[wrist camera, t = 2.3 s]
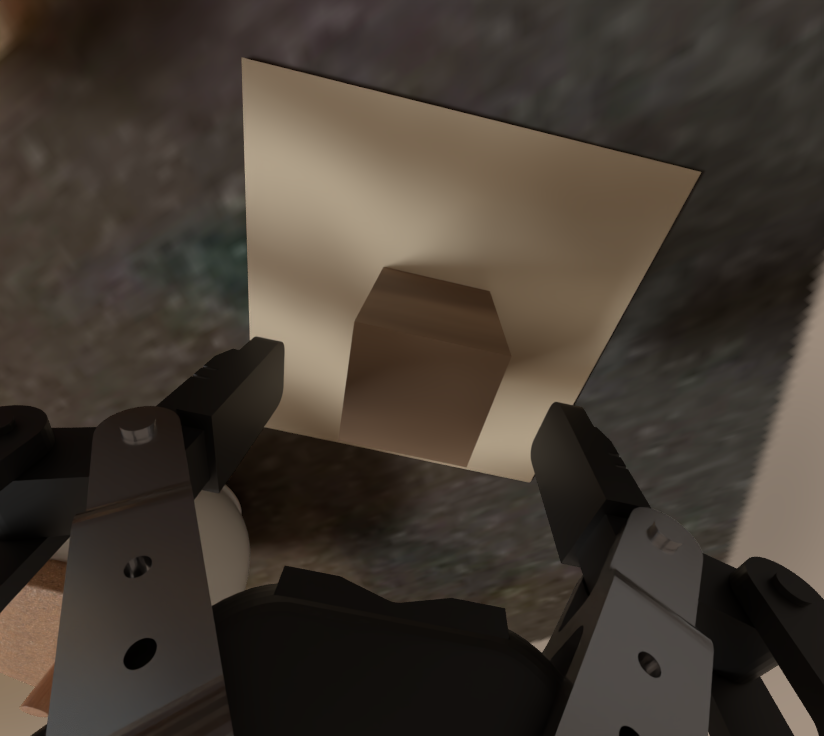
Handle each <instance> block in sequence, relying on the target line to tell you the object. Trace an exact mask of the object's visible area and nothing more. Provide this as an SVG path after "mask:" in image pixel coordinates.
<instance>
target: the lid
mask: <svg viewBox="0 0 824 736" xmlns="http://www.w3.org/2000/svg"><path fill="white" fill-rule="evenodd" d="M242 87H243V121H244V154H245V188H246V221H247V255H248V288H249V322H250V340H251V339H252V338H254V337H255V336H258V337H262V338H267V339H272V340H276V341H281V342H283V343H284V347H285V357H284V388H283V394H282V398H281V401H280V403H279V405H278V407H277V409H276V410H275V412H274V413H273V415H272V416H271V418H270V419H269V421H268V422H267V424H266V425H265V426H264V427H266V428H271V429H276V430H281V431H286V432H290V433H295V434H300V435H305V436H310V437H314V438H319V439H324V440H329V441H334V442H338V443H343V444H348V445H353V446H358V447H362V448H367V449H372V450H377V451H381V452H386V453H391V454H396V455H401V456H405V457H410V458H415V459H420V460H425V461H429V462H434V463H439V464H444V465H449V466H453V467H458V468H463V469H468V470H472V471H477V472H482V473H487V474H492V475H496V476H501V477H506V478H511V479H516V480H520V481H525V482H531V480H532V478H533V476H534V474H535V473H534V469H533V466H532V463H531V446H532V443H533V440H534V438H535V436H536V434H537V432H538V430H539V428H540V426H541V424H542V422H543V420H544V418H545V416H546V414H547V412H548V410H549V408H550V406H551V405H552V404H553V403H554V402H560V403H565V404H570V405H573V404H574V402H575V400H576V398H577V397H578V395H579V393H580V391H581V389H582V387H583V386H584V384H585V382H586V380H587V378H588V377H589V375H590V373H591V371H592V369H593V368H594V366H595V364H596V362H597V360H598V358H599V357H600V355H601V353H602V351H603V349H604V348H605V346H606V344H607V342H608V340H609V339H610V337H611V335H612V333H613V331H614V330H615V328H616V326H617V324H618V322H619V320H620V319H621V317H622V315H623V313H624V311H625V310H626V308H627V306H628V304H629V302H630V301H631V299H632V297H633V295H634V293H635V291H636V290H637V288H638V286H639V284H640V282H641V281H642V279H643V277H644V275H645V273H646V272H647V270H648V268H649V266H650V264H651V263H652V261H653V259H654V257H655V255H656V253H657V252H658V250H659V248H660V246H661V244H662V243H663V241H664V239H665V237H666V235H667V234H668V232H669V230H670V228H671V226H672V224H673V223H674V221H675V219H676V217H677V215H678V214H679V212H680V210H681V208H682V206H683V205H684V203H685V201H686V199H687V197H688V196H689V194H690V192H691V190H692V188H693V186H694V185H695V183H696V181H697V179H698V177H699V176H700V174H701V172H699V171H695V170H691V169H687V168H683V167H679V166H675V165H671V164H667V163H663V162H659V161H655V160H651V159H647V158H643V157H639V156H635V155H631V154H627V153H623V152H619V151H615V150H611V149H607V148H603V147H599V146H595V145H591V144H587V143H583V142H579V141H575V140H571V139H567V138H563V137H559V136H555V135H551V134H547V133H543V132H539V131H535V130H531V129H527V128H523V127H519V126H515V125H511V124H507V123H503V122H498V121H494V120H490V119H486V118H482V117H478V116H474V115H470V114H466V113H462V112H458V111H454V110H450V109H446V108H442V107H438V106H434V105H430V104H426V103H422V102H418V101H414V100H410V99H406V98H402V97H398V96H394V95H390V94H386V93H382V92H378V91H374V90H370V89H366V88H362V87H358V86H354V85H350V84H346V83H342V82H338V81H334V80H330V79H326V78H322V77H318V76H314V75H310V74H306V73H302V72H298V71H294V70H290V69H286V68H282V67H278V66H274V65H270V64H266V63H262V62H258V61H254V60H250V59H246V58H242Z"/></svg>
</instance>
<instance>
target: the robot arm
mask: <svg viewBox="0 0 824 736" xmlns="http://www.w3.org/2000/svg"><path fill="white" fill-rule="evenodd" d="M284 357H285V347H284V343H283V342H281V341H276V340H272V339H267V338H262V337H258V336H255V337H254V338H252V339H251V340H250V341H249V342H248V343H247V344H246V345H245V346H244V347H243V348H241V349H240V350H236V349H231V350H229V351H226V352H224V353H221V354H219V355H216V356H215V357H213V358H212V359H211V360H210V361H209V362H207V363H206V364H205V365H204V367H203V368H200V369H199V370H198V371H197V372H196V373H195V374H194V375H193V377H190V378H189V379H187V380H186V381H185V382H184V383H183V384H182V385H180V386H179V387H178V388H177V389H176V390H174V391H173V392H172V393H171V394H170V395H169V396H167V397H166V398H165V399H164V400H163V401H161V402H160V403H159V404H158V405H157V406H142V407H135V408H130V409H127V410H123V411H121V412H118V413H116V414H114V415H112V416H110V417H108V418H107V419H105V420H104V421H103V422H101V423H100V424H99V425H98V426H97V427H83V428H51V426H50V423H49V420H48V418H47V415H46V414H45V413H44V412H43V411H42V410H40V409H38V408H35V407H31V406H23V405H13V406H2V407H0V613H1V612H2V611H3V609H4V608H5V607H6V606H7V605H8V604H9V603H10V602H11V601H12V600H13V599H14V597H15V596H16V595H17V594H18V593H19V592H20V591H21V590H22V589H23V588H24V587H25V585H26V584H27V583H28V582H29V581H30V580H31V579H32V578H33V577H34V576H35V575H36V573H37V572H38V571H39V570H40V569H41V568H42V567H43V566H44V565H45V564H46V563H47V561H48V560H49V559H50V558H51V557H52V556H53V555H54V554H55V553H56V552H57V551H58V549H59V548H60V547H61V546H62V545H63V544H64V543H65V542H66V541H67V540H68V539H69V537H70V541H69V550H68V558H67V566H66V574H65V582H64V591H63V599H62V607H61V615H60V623H59V632H58V640H57V648H56V656H55V664H54V673H53V681H52V689H51V697H50V705H49V714H48V722H47V725H45V726H44V727H42V728H41V729H39V730H38V731H37V732H35V733H34V734H32V736H708V732H709V735H710V736H794V735H793V733H792V731H791V729H790V728H789V726H788V724H787V723H786V721H785V719H784V717H783V715H782V714H781V712H780V710H779V709H778V707H777V705H776V703H775V702H774V700H773V698H772V696H771V695H770V693H769V691H768V689H767V688H766V686H765V684H764V683H763V681H762V679H761V677H760V676H762V675H763V674H764V673H766V672H768V671H770V670H771V669H773V668H774V667H776V666H778V665H779V667H780V668H781V670H782V671H783V673H784V675H785V676H786V678H787V679H788V681H789V683H790V684H791V686H792V687H793V689H794V691H795V692H796V694H797V695H798V697H799V699H800V700H801V702H802V703H803V705H804V707H805V708H806V710H807V711H808V713H809V715H810V716H811V718H812V720H813V721H814V723H815V725H816V728H817V731H818V734H819V736H824V599H823V598H822V597H821V596H820V595H819V594H818V593H817V592H816V591H815V590H814V589H813V588H812V587H811V586H810V585H809V584H808V583H806V582H805V581H804V580H803V579H801V578H800V577H799V576H797V575H796V574H795V573H793V572H792V571H790V570H789V569H787V568H785V567H784V566H782V565H780V564H778V563H776V562H774V561H771V560H768V559H766V558H762V557H751V558H749V559H748V560H746V561H745V562H744V563H743V564H742V565H741V566H740V567H738V568H737V569H736V568H734V567H732V566H730V565H728V564H725V563H723V562H721V561H719V560H717V559H714V558H712V557H710V556H708V555H706V554H703V553H702V550H701V548H700V546H699V544H698V543H697V541H696V540H695V539H694V537H693V536H692V535H691V534H690V533H689V532H688V531H687V530H686V529H685V528H684V527H683V526H682V525H681V524H679V523H678V522H677V521H676V520H674V519H673V518H671V517H669V516H668V515H666V514H664V513H662V512H660V511H657V510H655V509H651V507H650V505H649V504H648V502H647V500H646V499H645V497H644V495H643V494H642V492H641V490H640V489H639V487H638V485H637V484H636V482H635V480H634V479H633V477H632V475H631V474H630V472H629V470H628V469H626V465H625V464H624V462H623V460H622V459H621V457H619V454H618V452H617V450H616V449H615V447H614V445H613V444H612V442H611V441H610V440H609V439H608V438H607V437H606V436H605V435H604V434H603V433H602V432H601V431H600V430H599V429H598V428H597V427H594V426H593V424H592V423H591V421H590V419H589V417H588V416H587V414H586V412H585V410H584V409H583V408H582V407H579V406H574V405H570V404H565V403H560V402H554V403H553V404H552V405H551V406H550V408H549V410H548V412H547V414H546V416H545V418H544V420H543V422H542V424H541V426H540V428H539V430H538V432H537V434H536V436H535V438H534V440H533V443H532V446H531V463H532V466H533V469H534V473H535V476H536V480H537V483H538V486H539V490H540V493H541V497H542V500H543V503H544V507H545V510H546V514H547V517H548V520H549V524H550V527H551V531H552V534H553V537H554V541H555V544H556V548H557V551H558V554H559V558H560V561H561V563H562V564H567V565H572V566H577V567H581V570H582V573H583V575H582V577H581V578H580V579H579V581H578V582H577V584H576V586H575V588H574V590H573V592H572V594H571V596H570V598H569V601H568V603H567V605H566V607H565V609H564V611H563V613H562V615H561V617H560V619H559V622H558V624H557V626H556V628H555V630H554V632H553V634H552V636H551V638H550V640H549V642H548V644H547V646H546V647H545V649H544V651H543V652H542V653H541V652H540V651H539V650H538V649H537V648H535V647H534V646H533V645H532V644H530V643H529V642H528V641H527V640H525V639H524V638H522V637H521V636H519V635H517V634H516V633H514V632H513V631H511V630H509V629H508V626H507V619H506V612H505V608H501V607H496V606H490V605H485V604H480V603H475V602H470V601H465V600H459V599H454V598H447V599H436V600H425V601H415V602H404V603H395V602H391V601H388V600H386V599H384V598H382V597H380V596H378V595H376V594H374V593H372V592H370V591H368V590H366V589H364V588H362V587H360V586H358V585H356V584H354V583H352V582H350V581H348V580H346V579H344V578H342V577H340V576H336V575H331V574H325V573H320V572H315V571H310V570H305V569H300V568H294V567H289V566H285V567H284V569H283V572H282V574H281V577H280V579H279V582H278V584H269V585H264V586H259V587H254V588H251V589H248V590H245V591H242V592H239V593H236V594H234V595H232V596H230V597H228V598H225V599H223V600H221V601H219V602H218V603H216V604H214V605H211V599H210V593H209V587H208V581H207V575H206V569H205V563H204V557H203V551H202V545H201V539H200V533H199V527H198V521H197V515H196V509H195V503H194V500H195V498H196V497H197V496H198V494H199V493H200V492H201V490H204V491H209V492H214V493H220V491H221V490H222V488H223V487H224V485H225V484H226V483H227V481H228V480H229V478H230V477H231V475H232V474H233V472H234V471H235V469H236V468H237V466H238V465H239V463H240V462H241V460H242V459H243V457H244V456H245V455H246V453H247V452H248V450H249V449H250V447H251V446H252V444H253V443H254V441H255V440H256V438H257V437H258V435H259V434H260V432H261V431H262V429H263V428H264V426H265V425H266V424H267V422H268V421H269V419H270V418H271V416H272V415H273V413H274V412H275V410H276V409H277V407H278V405H279V403H280V401H281V398H282V394H283V388H284Z"/></svg>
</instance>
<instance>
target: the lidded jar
mask: <svg viewBox="0 0 824 736" xmlns="http://www.w3.org/2000/svg"><path fill="white" fill-rule="evenodd" d="M194 503H195V509H196V515H197V521H198V527H199V533H200V539H201V545H202V551H203V557H204V563H205V569H206V575H207V581H208V587H209V593H210V599H211V605H214V604H216V603H218V602H219V601H221V600H223V599H225V598H228V597H230V596H232V595H234V594H236V593H239V592H242V591H245V588H246V583H247V579H248V575H249V566H250V553H251V551H250V542H249V535H248V531H247V528H246V525H245V522H244V520H243V517H242V509H241V505H240V502H239V500H238V498H237V497H236V495H235V494H234V493H233V491H232V490H231V489H230V488H229V487H228V486H227V485H226V484H225V485H224V487H223V488H222V490H221V491H220V493H214V492H209V491H204V490H201V492H200V493H199V494H198V496H197V497H196V498H195V500H194ZM69 541H70V537H69V539H68V540H67V541H66V542H65V543H64V544H63V545H62V546H61V547H60V548H59V549H58V551H57V552H56V553H55V554H54V555H53V556H52V557H51V558H50V559H49V560H48V561H47V563H46V564H45V565H44V566H43V567H42V568H41V569H40V570H39V571H38V572H37V573H36V575H35V576H34V577H33V578H32V579H31V580H30V581H29V582H28V583H27V584H26V585H25V587H24V588H23V589H22V590H21V591H20V592H19V593H18V594H17V595H16V596H15V597H14V599H13V600H12V601H11V602H10V603H9V604H8V605H7V606H6V607H5V608H4V609H3V611H2V612H1V613H0V672H1V673H3V674H5V675H7V676H9V677H12V678H14V679H17V680H19V681H21V682H24V683H26V684H29V685H31V686H34V687H35V688H34V689H33V690H32V692H31V693H30V694H29V696H28V697H27V698H26V700H25V701H24V702H23V704H22V705H21V706H20V709H21V710H22V711H23V712H25V713H28V714H30V715H34V716H38V717H48V714H49V705H50V697H51V689H52V681H53V673H54V664H55V656H56V648H57V640H58V632H59V623H60V615H61V607H62V599H63V591H64V582H65V574H66V566H67V558H68V550H69Z"/></svg>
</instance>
